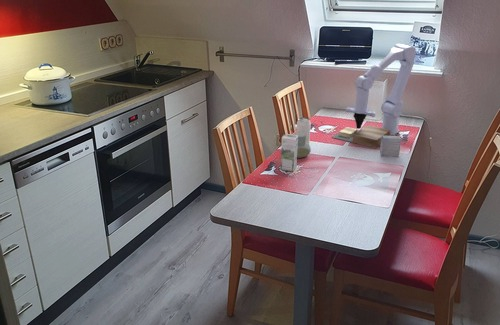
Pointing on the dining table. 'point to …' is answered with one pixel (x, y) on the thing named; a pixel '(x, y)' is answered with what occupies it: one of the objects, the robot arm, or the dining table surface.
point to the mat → (343, 137)
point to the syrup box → (289, 152)
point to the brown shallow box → (370, 136)
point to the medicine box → (390, 146)
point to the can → (304, 127)
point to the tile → (347, 132)
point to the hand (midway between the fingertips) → (358, 128)
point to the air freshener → (302, 146)
